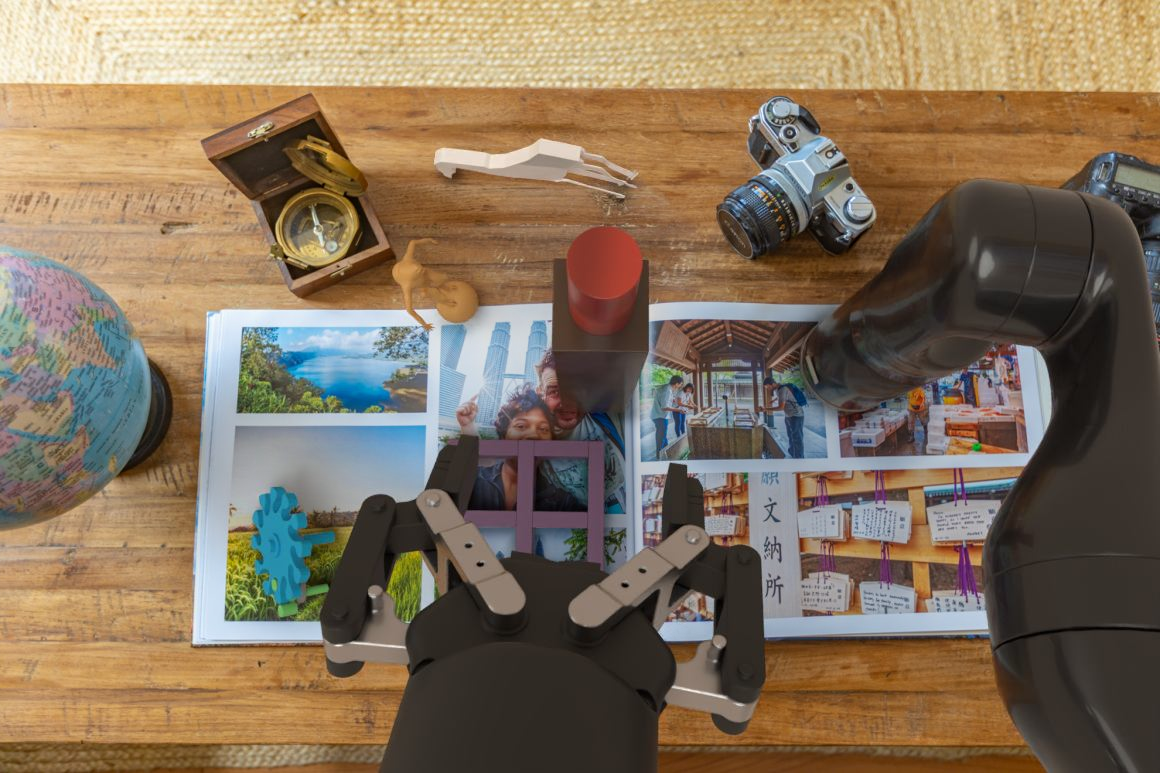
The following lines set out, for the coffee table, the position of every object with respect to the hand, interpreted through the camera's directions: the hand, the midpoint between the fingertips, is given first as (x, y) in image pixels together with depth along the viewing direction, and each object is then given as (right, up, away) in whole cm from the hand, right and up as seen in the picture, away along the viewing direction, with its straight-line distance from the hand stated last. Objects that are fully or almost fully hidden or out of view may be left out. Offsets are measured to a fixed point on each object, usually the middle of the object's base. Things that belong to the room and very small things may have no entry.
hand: (572, 464), depth 33 cm
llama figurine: (-4, +24, +46) cm, 51 cm away
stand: (+2, +4, +42) cm, 42 cm away
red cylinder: (+2, +8, +16) cm, 18 cm away
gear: (-26, -12, +39) cm, 48 cm away
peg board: (-4, -9, +40) cm, 41 cm away
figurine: (-12, +11, +43) cm, 46 cm away
